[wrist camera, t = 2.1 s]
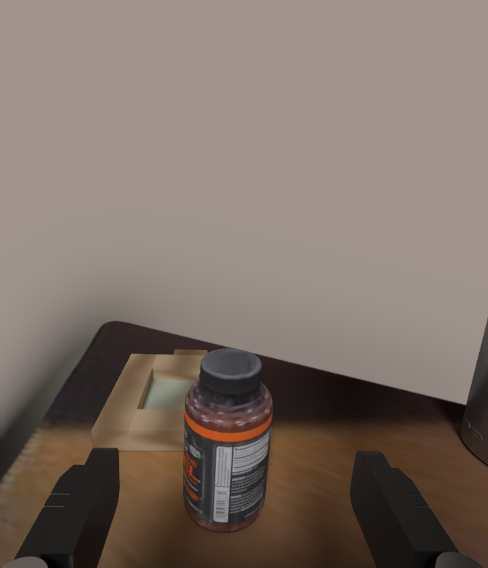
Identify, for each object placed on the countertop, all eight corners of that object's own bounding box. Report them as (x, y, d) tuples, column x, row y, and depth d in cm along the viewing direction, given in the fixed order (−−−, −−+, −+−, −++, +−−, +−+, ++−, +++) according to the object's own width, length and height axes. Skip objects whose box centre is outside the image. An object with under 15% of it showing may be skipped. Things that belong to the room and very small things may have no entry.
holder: (245, 365, 46) (246, 351, 46) (257, 451, 31) (259, 431, 31) (134, 363, 45) (134, 348, 45) (92, 450, 30) (91, 430, 30)
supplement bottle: (173, 481, 28) (174, 346, 25) (244, 461, 30) (252, 336, 27) (196, 552, 23) (201, 392, 20) (279, 521, 25) (294, 374, 22)
